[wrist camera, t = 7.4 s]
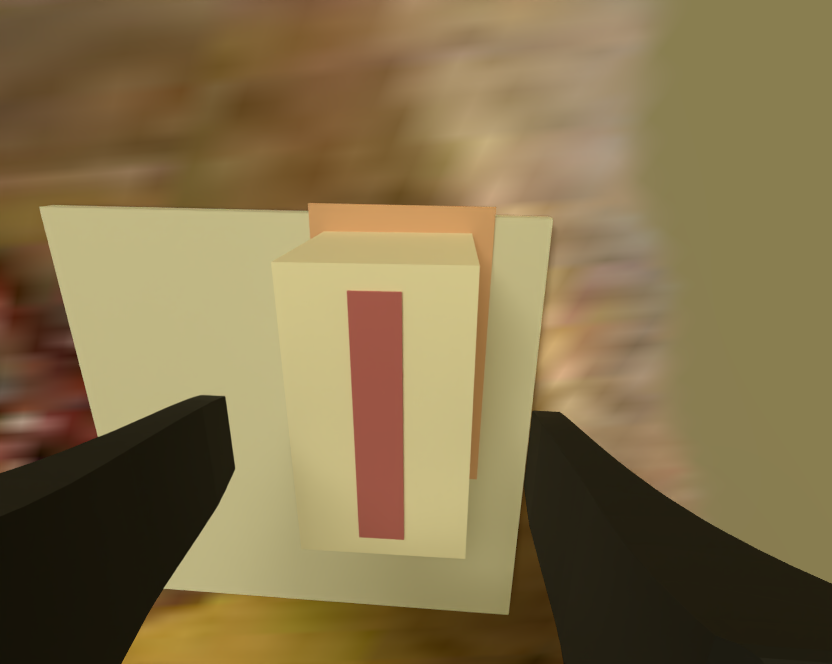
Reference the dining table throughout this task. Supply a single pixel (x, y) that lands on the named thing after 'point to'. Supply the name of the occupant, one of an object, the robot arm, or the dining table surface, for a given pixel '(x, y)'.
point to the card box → (380, 388)
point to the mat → (264, 387)
